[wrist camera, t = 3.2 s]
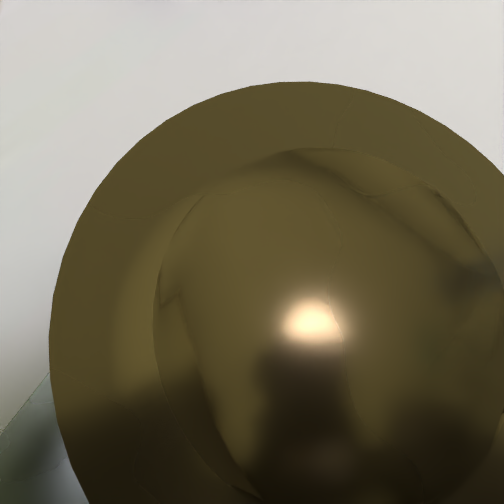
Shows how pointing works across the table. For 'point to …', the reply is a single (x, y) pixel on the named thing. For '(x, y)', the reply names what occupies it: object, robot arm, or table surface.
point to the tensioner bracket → (37, 456)
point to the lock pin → (286, 309)
